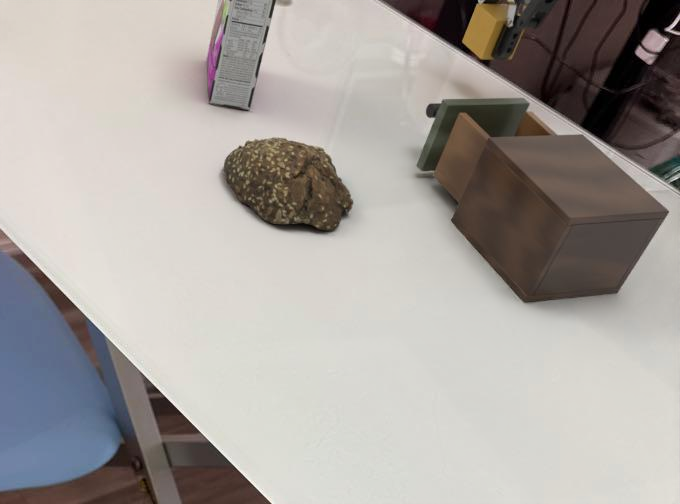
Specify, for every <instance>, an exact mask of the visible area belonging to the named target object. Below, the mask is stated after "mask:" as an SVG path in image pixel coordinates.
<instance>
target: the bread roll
mask: <svg viewBox="0 0 680 504" xmlns="http://www.w3.org/2000/svg"><path fill="white" fill-rule="evenodd" d="M332 160H333V159H332V158H331V155H330V154H328V153H326V152H325V149H324V148H323V147H321V146H315V145H311V144H310V145H309V144H306V143H304V142H300V141H294V140H289V139H287V138H285V137H270V138H269V137H268V138H261V139H257V138H255V139H254V140H249V139H248V140H246V141H245V144H244V145H243V146H242V145H238V147H237V148H235V149H233V150H232V151H231V152H230V153H228V155H227V156H226V157H225V159H224V163H223V167H222V170H223V172H224V174H225V180H226V182H227V184H228V185H229V186H230V188H231V189H232V191H233V193H235V195H236V198H237V199H238V200H239V202H241V204H243V205H246V206H248V207H249V208H250V209H251V210H253V211H254V212H255V213H256V214H257V215H258V217H260V218H261V219H262V220H263V221H265V222H268V223H270V224H273V225H290V224H292V225H298V224H304V225H310V226H312V227H314V228H316V229H317V230H321V231H332V230H333V229H335V228H336V227H338V226H339V225H340V223H341V221H342V216H343V215H346V214H348V213H350V212H351V210H352V208H353V205H354V199H352V194H351V192H350V190H349V188H347V186H346V185H345V183H343V180H342V178H341V177H339V175H338V174H337V169H336V167H335V165H334V163H333V161H332Z"/></svg>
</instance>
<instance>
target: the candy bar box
mask: <svg viewBox="0 0 680 504" xmlns="http://www.w3.org/2000/svg"><path fill="white" fill-rule="evenodd" d="M276 2H277V0H217V5H216V9H215V15H214V19H213V26H212V30H211V36H210V41H209V44H208V45H209V46H208V51H207V55H206V70H207V92H208V104H211V105H214V106H218V107H225V108H231V109H239V110H245V111H250V110H251V107H252V102H253V97H254V94H255V90H256V85H257V81H258V77H259V73H260V68H261V64H262V61H263V56H264V52H265V48H266V44H267V39H268V35H269V31H270V27H271V23H272V19H273V15H274V11H275V10H274V9H275V6H276Z"/></svg>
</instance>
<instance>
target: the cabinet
mask: <svg viewBox="0 0 680 504" xmlns="http://www.w3.org/2000/svg"><path fill="white" fill-rule="evenodd" d="M669 213H670V210H669V209H667V208H666V207H665V206H664V205H663V204H661V202H660V201H658V200H657V198H655V197H654V196H653V195H652V194H651V193H650V192H648V191H647V190H646V189H645V188H644V187H642V185H640V184H639V183H638V182H637V181H636V180H635V179H634V178H632V177H631V176H630V174H628V173H627V172H626V171H624V169H622V168H621V167H620V166H619V165H618V164H616V163H615V161H614V160H612V159H611V158H610V157H609V156H607V154H606V153H604V152H603V151H602V150H601V149H600V148H599V147H598V146H597V145H596V144H594V143H593V142H592V141H591V140H590V139H589V138H588V137H586V136H585V135H584V134H582V133H581V134H579V133H578V134H557V135H547V136H516V137H489V138H488V139H487V142H486V145H485V146H484V148H483V150H482V153H481V155H480V157H479V159H478V162H477V164H476V166H475V168H474V170H473V173H472V175H471V177H470V179H469V181H468V184H467V186H466V188H465V190H464V192H463V195H462V197H461V199H460V201H459V203H458V204H457V206H456V208H455V210H454V213H453V215H452V217H451V219H450V221H451V223H452V224H454V226H455V227H456V228H457V229H458V231H460V232H461V233H462V235H463V236H464V237H465V238H466V239H467V240H468V242H469V243H471V245H472V246H473V248H475V250H476V251H478V252H479V253H480V255H481V256H482V257H483V258H484V259H485V260H486V261H487V263H489V265H490V266H491V267H492V268H493V269H494V271H496V273H498V275H499V276H500V277H501V278H502V279H503V281H504V282H505V283H506V284H507V285H508V286H509V287H510V288H511V290H513V292H514V293H515V294H516V295H517V296H518V298H520V299H521V300H522V302H523V303H530V302H539V301H540V302H541V301H549V300H559V299H569V298H570V299H571V298H579V297H589V296H599V295H609V294H617V293H619V292H620V290H621V289H622V287H623V285H624V284H625V283H626V281H627V279H628V278H629V276H630V275H631V272H632V271H633V270H634V268H635V267H636V265H637V263H638V262H639V260H640V259H641V257H642V256H643V254H644V253H645V251H646V250H647V248H648V246H649V245H650V244H651V242H652V240H653V238H654V237H655V236H656V234H657V232H658V231H659V229H660V228H661V226H662V225H663V223H664V221H665V220H666V218H667V217H668V215H669Z"/></svg>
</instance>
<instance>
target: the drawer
mask: <svg viewBox="0 0 680 504" xmlns="http://www.w3.org/2000/svg"><path fill="white" fill-rule="evenodd" d="M530 105H531V103H530V102H529V101H528V100H527V99H526V98H525V97H499V98H498V97H496V98H494V97H493V98H492V97H491V98H488V97H487V98H443V99H441V102H437V103H436V102H435V103H434V102H431V103H428V105H427V106H426V108H425V116H426V117H427V118H428V119H434V120H433V122H432V124H431V126H430V129H429V132H428V134H427V137H426V139H425V141H424V145H423V147H422V149H421V151H420V155H419V157H418V159H417V162H416V164H415V165H416V167H417V168H418V169H419V170H420V171H421V172H433V173H432V176H433V177H434V178H435V179H436V180H437V182H439V183H440V184H441V186H442V187H443V188H444V189H445V190H446V191H447V192H448V193H449V194H450V195H451V197H452V198H453V199H454V200H455V201H456V202H457V203H458V204H459V201H460V199H461V197H462V195H463V192H464V190H465V188H466V186H467V184H468V181H469V179H470V177H471V175H472V173H473V170H474V168H475V166H476V164H477V162H478V159H479V157H480V155H481V153H482V150H483V148H484V146H485V145H486V142H487V139H488V138H489V137H516V136H547V135H558V134H557V132H555V131H554V130H553V129H552V128H551V127H550V126H549V125H548V124H547V123H545V122H544V121H543V120H542V119H541V118H540V117H538V115H536V114H535V113H534V111H532V110H528V109H529V107H530Z"/></svg>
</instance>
